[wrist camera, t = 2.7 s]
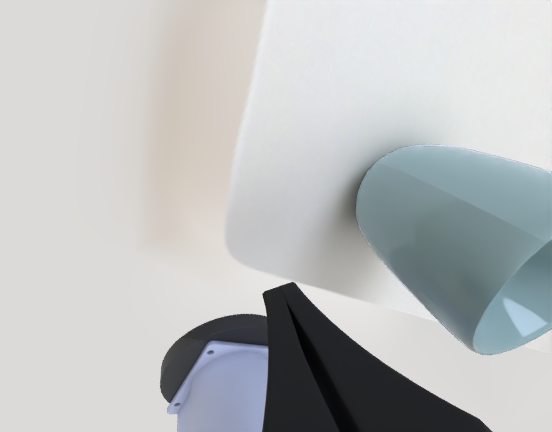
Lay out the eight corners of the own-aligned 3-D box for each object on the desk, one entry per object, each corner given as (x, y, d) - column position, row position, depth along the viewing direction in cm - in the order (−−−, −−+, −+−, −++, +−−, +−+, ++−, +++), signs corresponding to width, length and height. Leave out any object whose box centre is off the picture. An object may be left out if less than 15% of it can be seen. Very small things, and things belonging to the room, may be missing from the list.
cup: (347, 132, 15) (539, 214, 7) (451, 127, 17) (692, 185, 9) (330, 242, 19) (442, 376, 11) (417, 227, 21) (566, 331, 13)
